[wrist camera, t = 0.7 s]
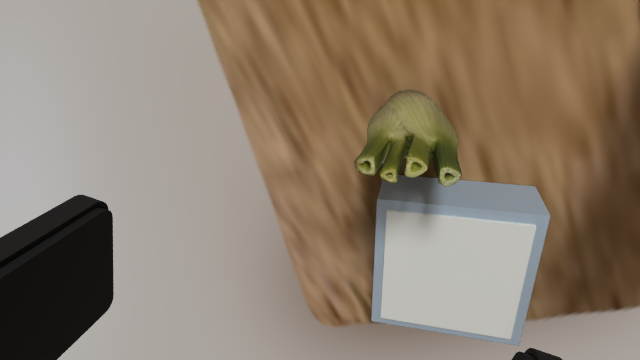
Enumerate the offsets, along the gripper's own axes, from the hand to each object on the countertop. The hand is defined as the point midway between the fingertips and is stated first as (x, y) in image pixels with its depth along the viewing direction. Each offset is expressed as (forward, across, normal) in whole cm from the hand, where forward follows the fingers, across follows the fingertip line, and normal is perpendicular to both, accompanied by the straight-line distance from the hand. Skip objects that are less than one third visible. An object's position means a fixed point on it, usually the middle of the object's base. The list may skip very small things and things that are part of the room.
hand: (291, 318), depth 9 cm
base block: (+26, -9, +12) cm, 30 cm away
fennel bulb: (+27, -2, +2) cm, 27 cm away
